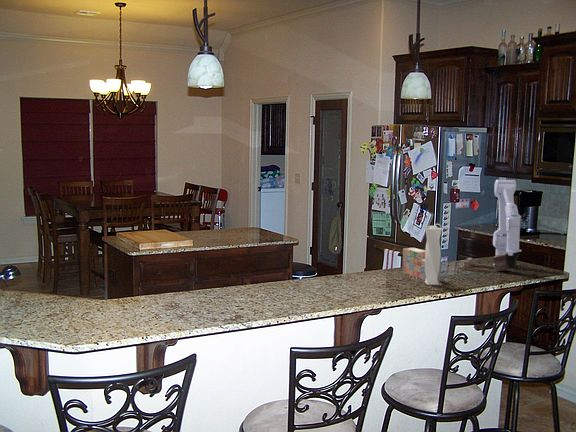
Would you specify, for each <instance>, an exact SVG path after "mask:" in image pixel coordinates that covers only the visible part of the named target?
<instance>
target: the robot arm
mask: <svg viewBox="0 0 576 432" xmlns="http://www.w3.org/2000/svg"><path fill="white" fill-rule="evenodd" d="M493 186H494V187H493V188H494V189H493V190H494V191H493V192H494V197H497V201H498V202H497V203H498V229H497V230H496V231H494V232H493V237H492V245H493V247H494V248H495V256H496V255H502V254H506V257H507V259H508V264H509V268H510V269H512V270H514V269H515V268H516V265H517V260H518V257H519V256H520V252H522V249H520V236H521V235H520V233H521V232H520V231H521V228H522V224H523V223H522V222H523V221H522V216H521V215H520V214H519V210H518V206H517V204H515V200H514V198H515V197H514V194H515V192H516V190H517V181H516V180H515V179H496V180H495V181H494V185H493ZM492 265H493V266H495V263H494V262H493V264H492ZM510 269H509V270H510Z"/></svg>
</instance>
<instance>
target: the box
mask: <svg viewBox="0 0 576 432" xmlns="http://www.w3.org/2000/svg"><path fill="white" fill-rule="evenodd" d="M492 259H493V264H494V263H495V265H494V266H495V270H496V272H501V271H507V270H510V268H509V264H508V259H507V257H506V254H502V255H496V254H495V256H493V258H492Z"/></svg>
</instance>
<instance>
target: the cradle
mask: <svg viewBox="0 0 576 432" xmlns="http://www.w3.org/2000/svg"><path fill="white" fill-rule="evenodd" d="M473 266H475V267H473ZM483 267H484V268H483ZM493 267H494V265H493V264H492V265H490V264H480V263H474V258H472V257H468V258H466V259H465V261H464V266H463V270H464V271H472V270H473V271H475V272H483V273H489V271H490V270H489V269H493Z"/></svg>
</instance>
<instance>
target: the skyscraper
mask: <svg viewBox="0 0 576 432" xmlns="http://www.w3.org/2000/svg"><path fill="white" fill-rule="evenodd" d="M437 225H439V226H440V227H438V226H437ZM424 229H425V233H426V234H425V236H426V243H425V249H424V250H425V271H426V280H423V281H424V283H425V284H426V285H427V286H443V283H442V282H441V280H440V279H441V257H442V256H441V245H440V238H441V234H442V230H443V228H442V225H441V224H440V223H435V224H434V225H427V226H425V228H424Z"/></svg>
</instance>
